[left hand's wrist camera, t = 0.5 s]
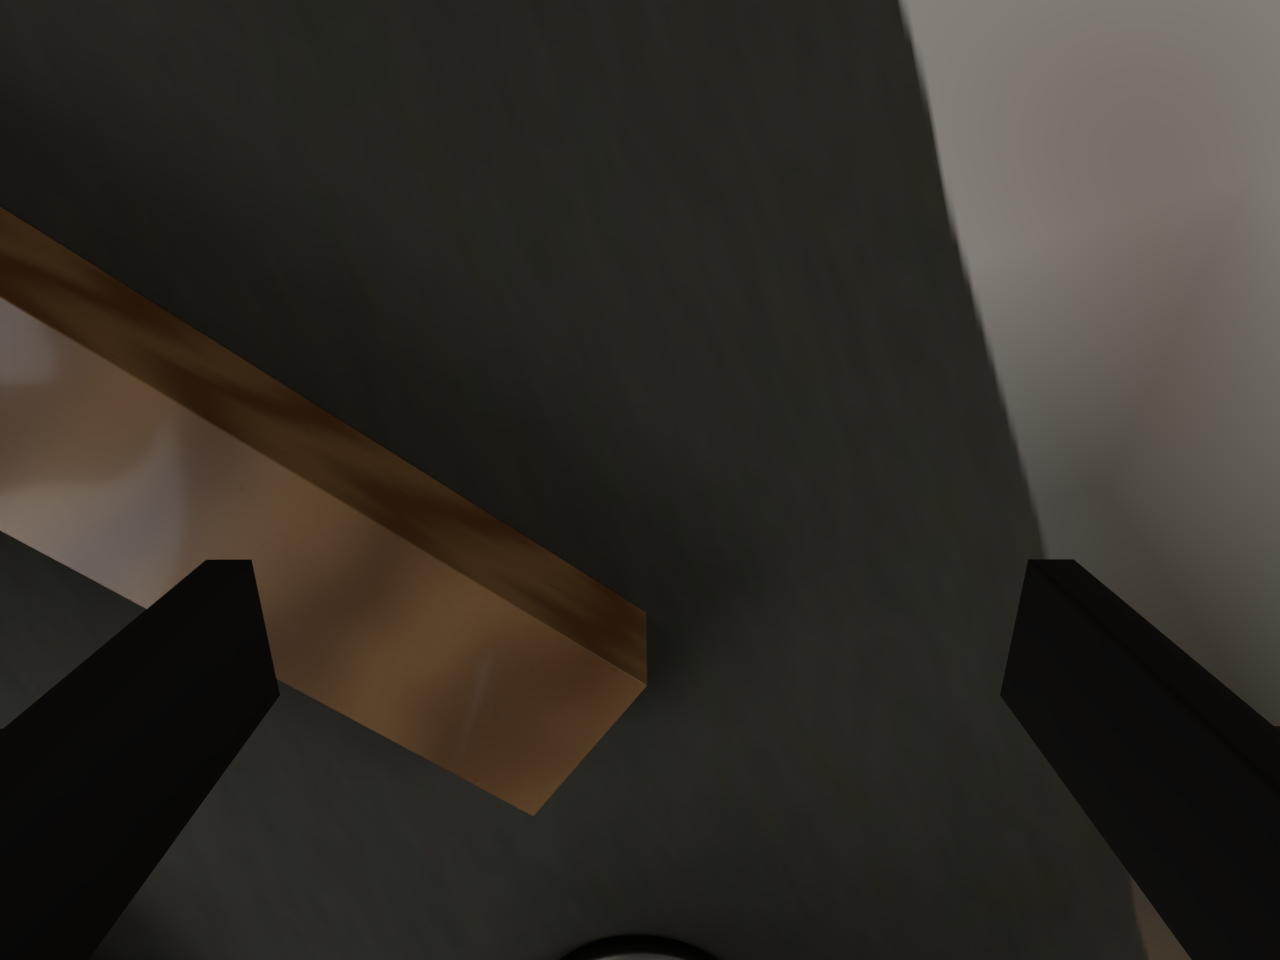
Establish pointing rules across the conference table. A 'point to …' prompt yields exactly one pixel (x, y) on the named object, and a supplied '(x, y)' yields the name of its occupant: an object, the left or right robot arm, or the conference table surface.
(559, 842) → the conference table surface
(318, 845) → the conference table surface
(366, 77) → the conference table surface
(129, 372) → the wide beam
